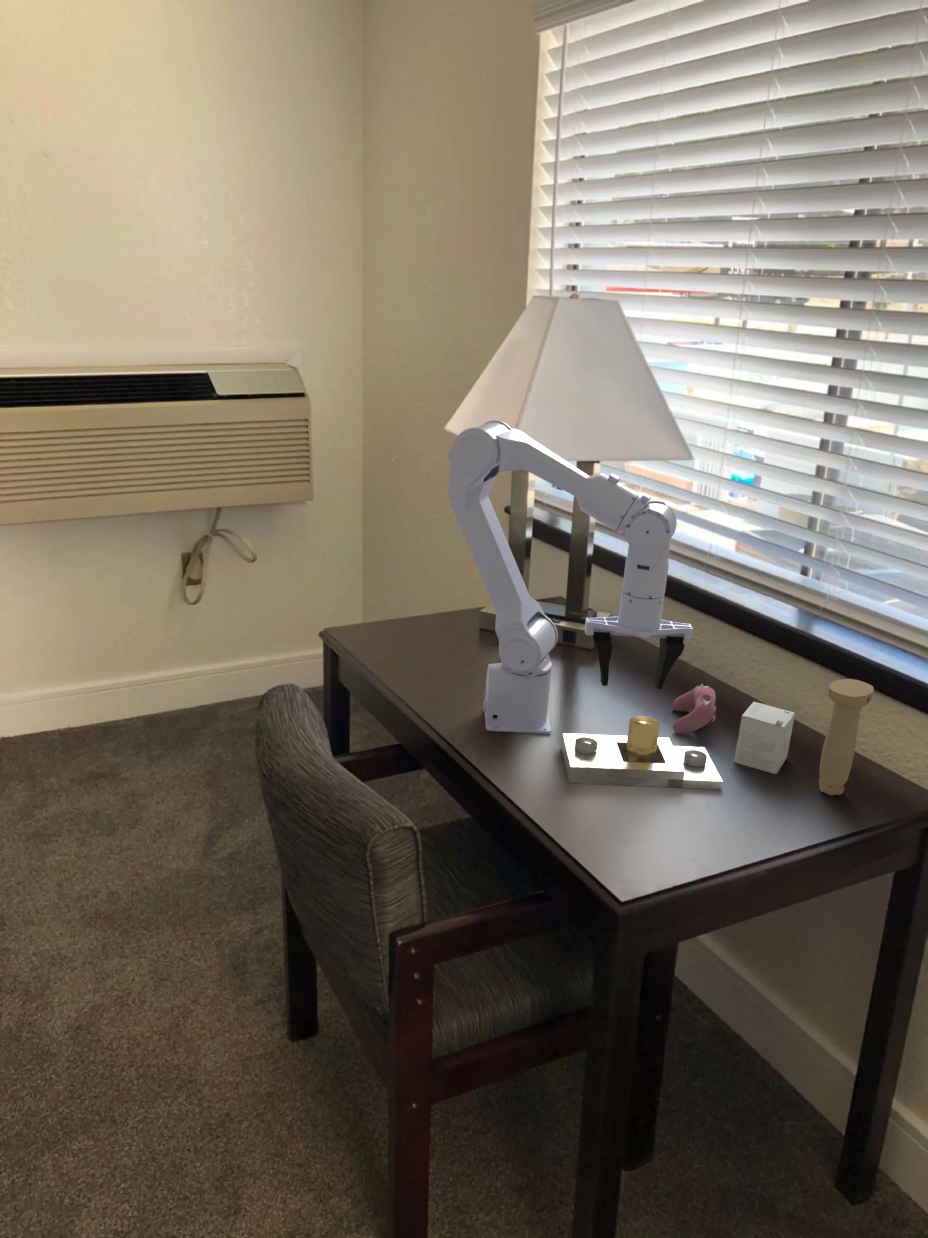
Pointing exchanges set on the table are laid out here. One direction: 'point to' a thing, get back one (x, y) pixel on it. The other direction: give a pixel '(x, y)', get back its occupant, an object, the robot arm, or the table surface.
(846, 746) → the handle
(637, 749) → the brass pin
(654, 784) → the right chain end
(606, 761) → the plate
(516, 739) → the table surface
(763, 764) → the skincare box
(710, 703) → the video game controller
